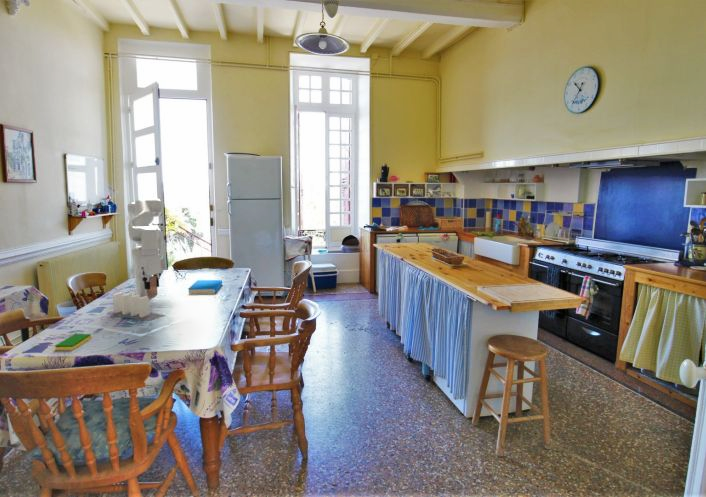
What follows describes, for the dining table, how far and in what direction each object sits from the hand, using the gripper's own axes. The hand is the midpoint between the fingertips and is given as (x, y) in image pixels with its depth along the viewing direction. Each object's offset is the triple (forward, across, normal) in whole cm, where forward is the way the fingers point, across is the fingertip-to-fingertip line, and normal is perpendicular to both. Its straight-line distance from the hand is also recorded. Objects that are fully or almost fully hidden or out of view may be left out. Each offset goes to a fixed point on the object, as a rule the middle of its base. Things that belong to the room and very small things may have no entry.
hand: (151, 287), depth 210 cm
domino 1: (+16, 0, -24) cm, 29 cm away
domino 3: (+16, 0, -12) cm, 20 cm away
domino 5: (+4, 0, 0) cm, 4 cm away
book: (+17, -62, -19) cm, 67 cm away
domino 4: (+16, 0, -6) cm, 17 cm away
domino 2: (+16, 0, -18) cm, 24 cm away
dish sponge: (+18, +39, -4) cm, 43 cm away
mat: (+17, 0, -12) cm, 21 cm away
